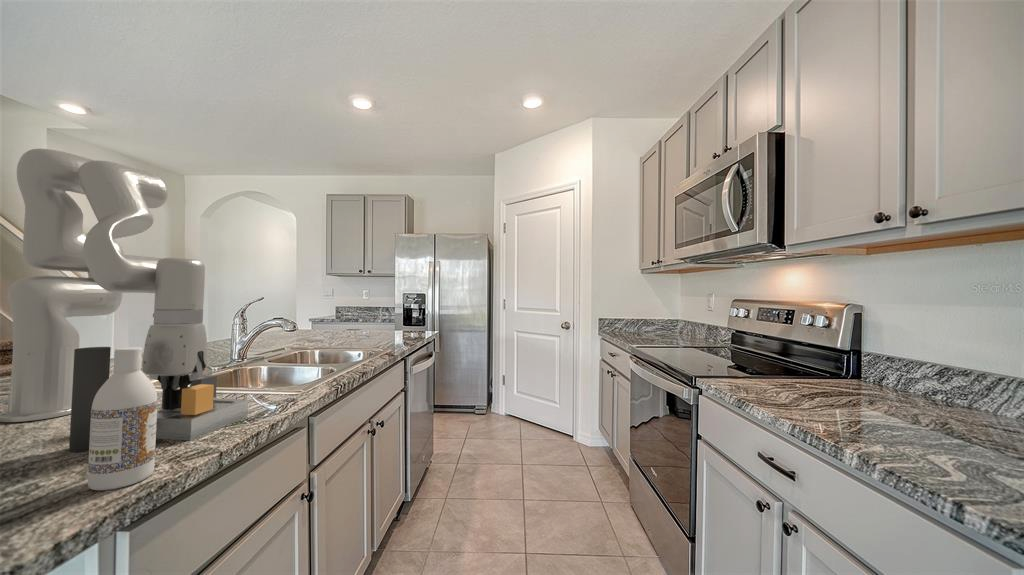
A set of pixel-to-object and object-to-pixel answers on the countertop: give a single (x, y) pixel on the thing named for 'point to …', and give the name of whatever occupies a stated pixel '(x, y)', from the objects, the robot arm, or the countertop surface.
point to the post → (86, 392)
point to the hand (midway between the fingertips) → (175, 407)
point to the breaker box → (199, 420)
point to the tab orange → (197, 399)
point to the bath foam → (123, 425)
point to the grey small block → (206, 382)
